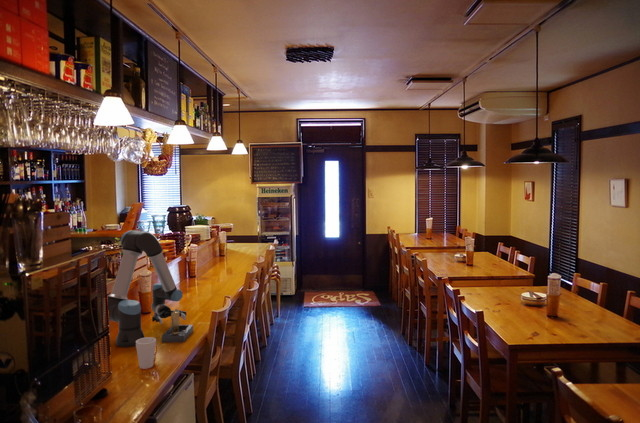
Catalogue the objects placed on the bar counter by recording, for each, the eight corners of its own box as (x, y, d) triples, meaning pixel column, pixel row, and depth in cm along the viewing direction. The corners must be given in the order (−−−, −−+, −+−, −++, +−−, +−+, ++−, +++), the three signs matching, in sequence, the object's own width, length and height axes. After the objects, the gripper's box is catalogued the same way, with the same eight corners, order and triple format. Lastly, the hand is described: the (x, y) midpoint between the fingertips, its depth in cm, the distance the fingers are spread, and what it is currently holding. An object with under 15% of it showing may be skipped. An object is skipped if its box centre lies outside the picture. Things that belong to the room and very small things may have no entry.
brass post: (167, 337, 257) (167, 312, 256) (177, 334, 261) (177, 310, 260) (173, 340, 252) (172, 314, 251) (183, 337, 257) (183, 312, 256)
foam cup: (156, 368, 217) (156, 342, 216) (136, 371, 213) (135, 345, 213) (156, 361, 226) (155, 336, 225) (136, 363, 222) (135, 338, 221)
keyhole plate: (172, 330, 272) (172, 324, 271) (193, 330, 272) (193, 324, 272) (162, 342, 252) (161, 335, 252) (183, 342, 252) (183, 335, 252)
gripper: (183, 313, 285) (194, 322, 268) (142, 320, 271) (151, 330, 253) (183, 302, 284) (194, 310, 267) (142, 308, 270) (151, 317, 253)
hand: (173, 319), depth 260 cm, fingers open, 13 cm apart
